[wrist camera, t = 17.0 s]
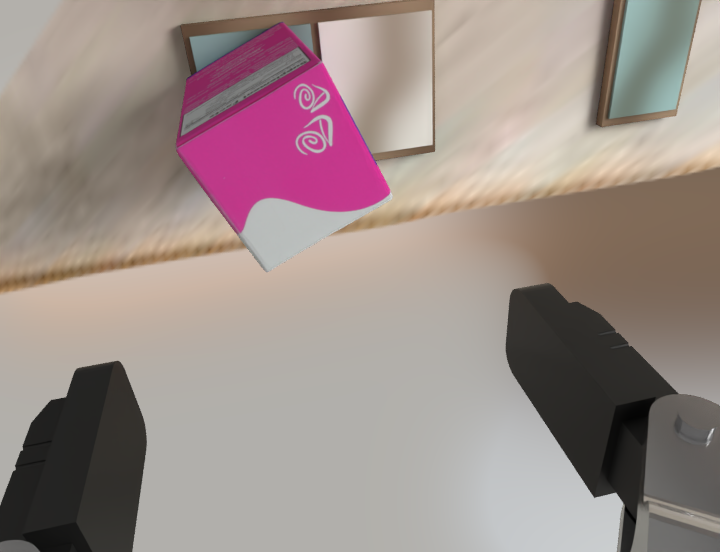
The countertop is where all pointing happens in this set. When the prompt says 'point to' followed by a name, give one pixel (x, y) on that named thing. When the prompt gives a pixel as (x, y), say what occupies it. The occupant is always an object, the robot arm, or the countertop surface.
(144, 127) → the countertop surface
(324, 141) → the supplement box
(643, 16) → the track
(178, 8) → the countertop surface
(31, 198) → the countertop surface
